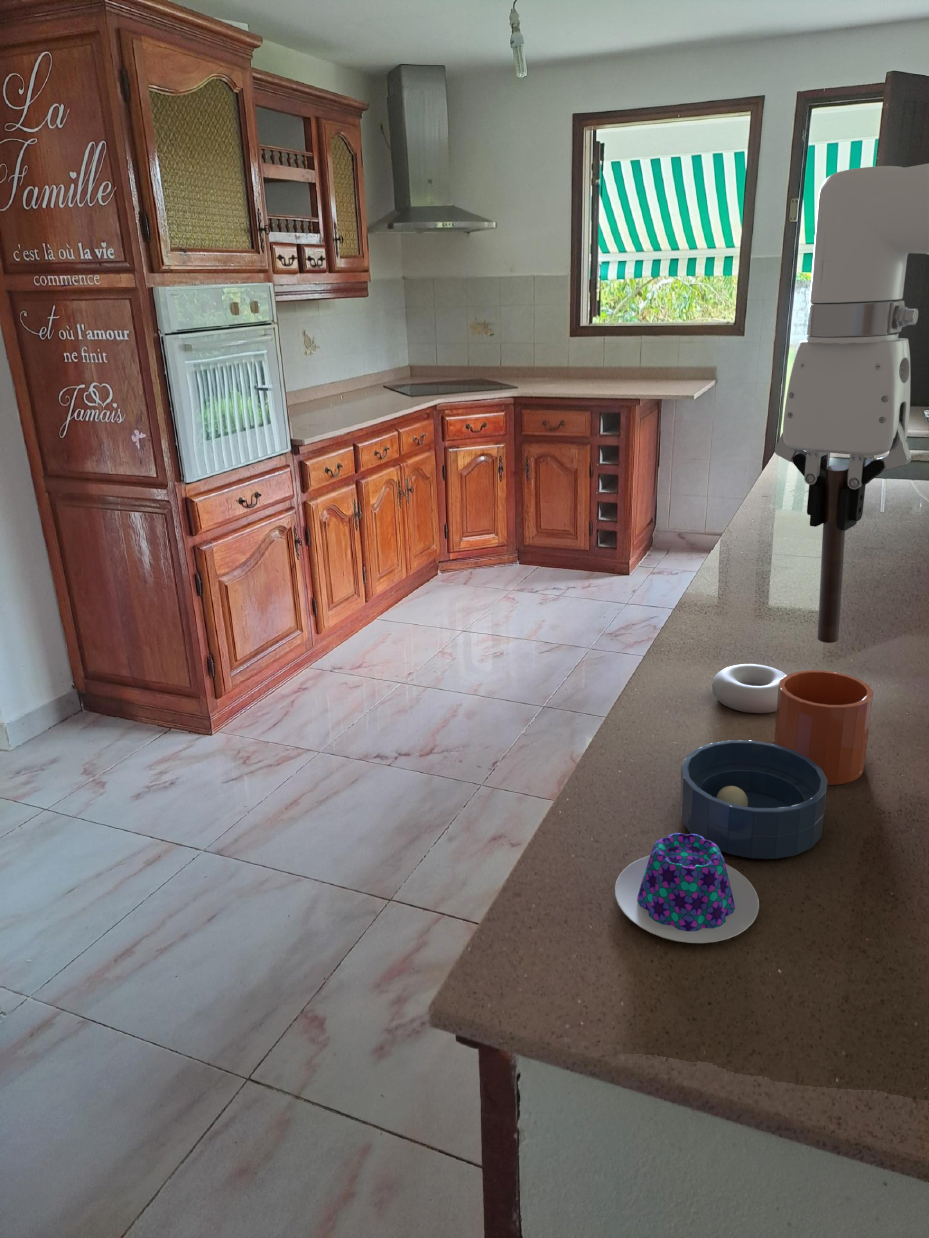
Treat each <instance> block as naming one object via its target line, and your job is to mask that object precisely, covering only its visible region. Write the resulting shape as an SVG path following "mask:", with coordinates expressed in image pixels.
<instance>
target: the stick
mask: <svg viewBox="0 0 929 1238" xmlns="http://www.w3.org/2000/svg"><path fill="white" fill-rule="evenodd" d="M848 472H849V465H844V464H833V465H829V466H828V467H827V468H826V477H825V497H824V517H823V524H822V538H821V557H820V559H821V560H820V578H819V579H820V580H819V600H818V619H817V620H818V621H817V641H819V642H822V643H825V644H832V643H837V642H838V641H839V639H840V622H841V605H842V593H843V592H842V590H843V573H844V559H845V540H846V531H843V530H839V528H837V523H838V513H839V503H840V493H841V490H842V489H843V488H846V482H847V481H848Z"/></svg>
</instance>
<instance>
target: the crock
mask: <svg viewBox="0 0 929 1238" xmlns="http://www.w3.org/2000/svg"><path fill="white" fill-rule="evenodd" d="M873 700H874V690H873V689H872V688H871V686H870V685H869V684H868V683H866V682H865V681H863V680H861V679H860V678H858V677H855V676H852V675H849V674H845V673H842V672H837V671H832V670H831V671H830V670H824V669H808V670H807V669H806V670H800V671H794V672H792V673H788V674H786V676H784V677H783V678H782V679H781V680H780V682H779V686H778V699H777V711H775V712H776V713H775V726H774V738H773V744H776V745H779V746H782V747H785V748H788V749H792V750H794V751H796V752H798V753H800V754H802V755H804V756H806V757H808V758H810V759H811V760H812V761H813V762H814V763H816V764H817V765H818V766H819V767H820V768H821V769H822V770H823V772H824V774H825V776H826V778H827V780H828V784H827V786H834V785H835V786H837V785H844V784H849V783H852V782H854V781H856V780H859V778H861V777H862V775H863V774H864V771H865V764H866V757H867V748H868V739H869V732H870V726H871V725H870V724H871V715H872V707H873Z"/></svg>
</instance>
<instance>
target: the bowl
mask: <svg viewBox="0 0 929 1238" xmlns="http://www.w3.org/2000/svg"><path fill="white" fill-rule="evenodd" d="M827 784H828V780H827V778H826V776H825V774H824V772H823V770H822V769H821V768H820V767H819V766H818V765H817V764H816V763H814V762H813V761H812V760H811V759H810V758H808V757H806V756H804V755H802V754H800V753H798V752H796V751H794V750H792V749H788V748H785V747H782V746H779V745H776V744H774V743H771V742H765V741H757V740H751V739H748V740H747V739H745V740H742V739H741V740H740V739H737V740H736V739H732V740H731V739H729V740H723V741H716V742H711V743H708V744H705V745H703V746H700V747H697V748H695V749H694V750H693V751H691V752H689V754H687V755H686V756H685V757H684V760H683V762H682V764H681V767H680V787H679V789H680V792H679V814H680V819H681V823H682V824H683V825H684V827H685V828H686V829H687V831H688V832H689V834H697V835H700V836H702V837H703V838H704V839H705V840H709V841H712V842H713V843H715V844H716V845H717V846H718V848H719V849H720V851H721V852H723V853H726V854H728V855H734V856H738V857H741V858H742V857H743V858H747V859H767V860H775V859H776V860H777V859H782V858H789V857H794V856H798V855H800V854H802V853H804V852H806V851H808V850H811V849H812V848H813V847H814V846H815V845H816V844H817V843H818V842H819V840H820V839H822V835H823V828H824V822H825V821H824V819H825V810H826V803H827V802H826V801H827V792H828V785H827ZM727 786H735V787H738V788H740V789H741V790H743V791H744V793H745V794H746V796H747V799H748V806H747V807H746V806H740V805H735V804H731V803H728V802H725V801H723V800H720V799H717V798H716V797H717V794H718V792H719V791H720V790H721V789H722V788H724V787H727Z"/></svg>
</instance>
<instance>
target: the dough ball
mask: <svg viewBox="0 0 929 1238" xmlns="http://www.w3.org/2000/svg"><path fill="white" fill-rule="evenodd" d="M716 798H717V799H720V800H723V801H725V802H728V803H731V804H735V805H740V806H746V807H747V806H748V799H747V796H746V794H745V793H744V791H743V790H741V789H740V788H738V787H735V786H727V787H724V788H722V789H721V790H720V791H719V792H718V794H717V797H716Z"/></svg>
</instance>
